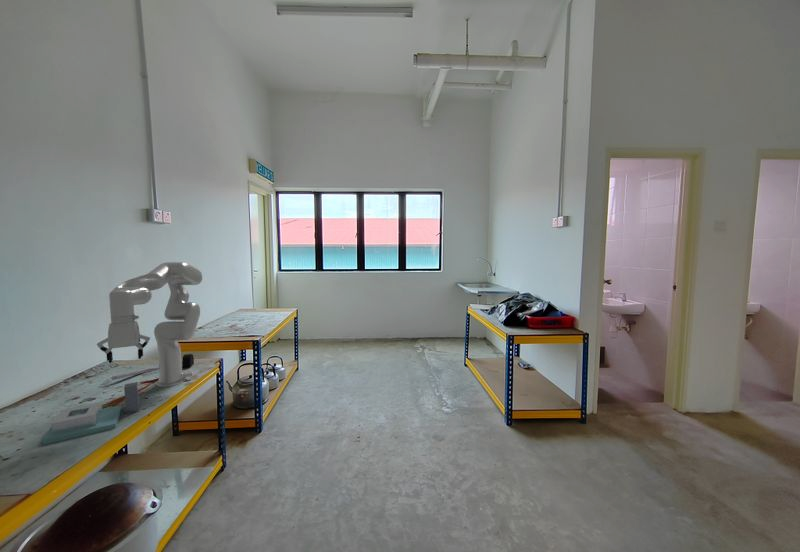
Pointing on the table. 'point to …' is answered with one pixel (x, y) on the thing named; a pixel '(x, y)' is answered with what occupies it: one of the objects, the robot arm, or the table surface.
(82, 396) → the table surface
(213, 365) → the table surface
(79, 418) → the chuck block
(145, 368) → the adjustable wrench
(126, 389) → the key pin
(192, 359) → the tape measure
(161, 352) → the robot arm
